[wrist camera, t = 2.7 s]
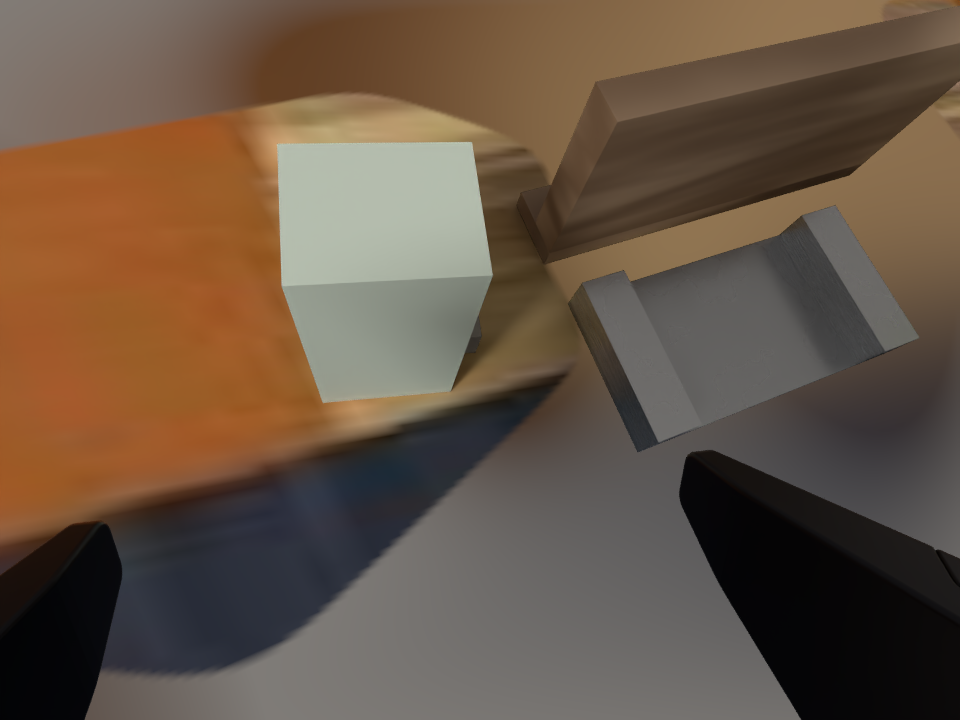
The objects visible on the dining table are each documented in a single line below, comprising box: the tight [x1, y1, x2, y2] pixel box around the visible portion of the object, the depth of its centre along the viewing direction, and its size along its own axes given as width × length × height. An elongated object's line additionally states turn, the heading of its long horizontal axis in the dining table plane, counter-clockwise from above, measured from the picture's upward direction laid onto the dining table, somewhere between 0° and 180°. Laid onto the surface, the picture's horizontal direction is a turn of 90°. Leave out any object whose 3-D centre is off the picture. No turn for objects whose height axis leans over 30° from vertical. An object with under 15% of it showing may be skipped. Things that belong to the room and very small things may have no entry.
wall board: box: [517, 6, 960, 264], centre depth 25 cm, size 3×18×9 cm, turn 112°
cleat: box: [568, 206, 919, 452], centre depth 26 cm, size 7×14×2 cm, turn 112°
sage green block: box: [277, 142, 493, 403], centre depth 20 cm, size 4×6×10 cm
